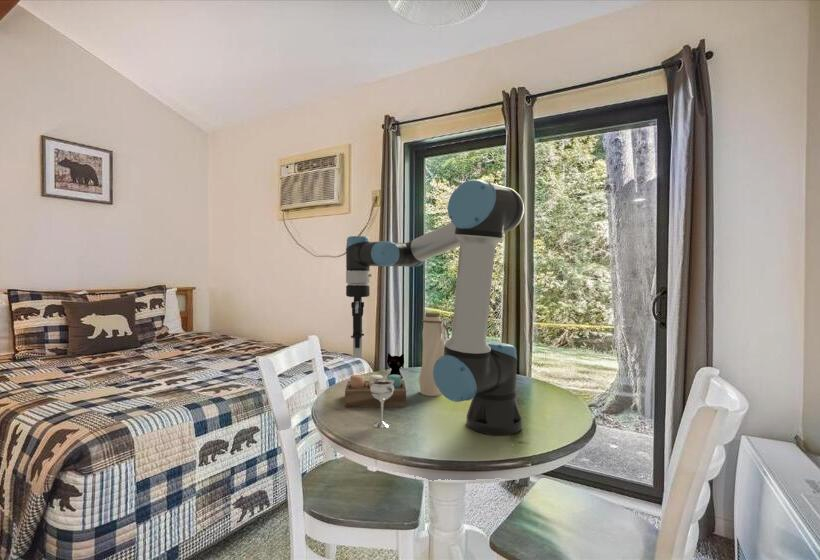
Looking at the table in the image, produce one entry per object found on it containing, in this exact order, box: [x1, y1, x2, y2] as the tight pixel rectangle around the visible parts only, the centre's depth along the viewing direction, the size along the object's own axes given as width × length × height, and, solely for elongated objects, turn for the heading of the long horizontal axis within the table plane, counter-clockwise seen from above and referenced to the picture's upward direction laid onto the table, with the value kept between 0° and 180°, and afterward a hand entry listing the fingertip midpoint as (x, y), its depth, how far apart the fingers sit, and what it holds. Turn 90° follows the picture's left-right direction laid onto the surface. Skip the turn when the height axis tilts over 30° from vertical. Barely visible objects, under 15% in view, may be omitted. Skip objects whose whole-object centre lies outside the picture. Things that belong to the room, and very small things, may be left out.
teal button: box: [387, 374, 402, 388], centre depth 139 cm, size 4×4×5 cm
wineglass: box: [370, 377, 394, 429], centre depth 118 cm, size 7×7×12 cm
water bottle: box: [418, 311, 450, 397], centre depth 148 cm, size 10×9×28 cm
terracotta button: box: [350, 374, 365, 388], centre depth 138 cm, size 4×4×5 cm
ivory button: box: [368, 374, 384, 388], centre depth 139 cm, size 4×4×5 cm
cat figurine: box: [386, 352, 405, 380], centre depth 157 cm, size 7×7×12 cm
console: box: [344, 379, 407, 408], centre depth 139 cm, size 12×19×5 cm, turn 94°
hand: (357, 356), depth 138 cm, fingers closed
